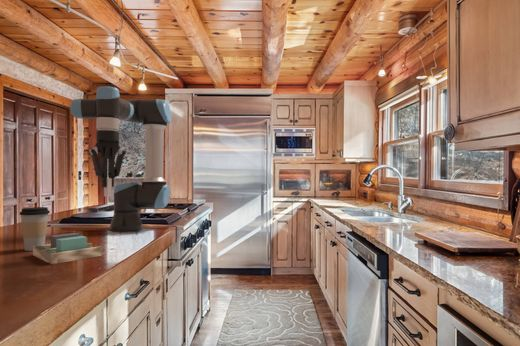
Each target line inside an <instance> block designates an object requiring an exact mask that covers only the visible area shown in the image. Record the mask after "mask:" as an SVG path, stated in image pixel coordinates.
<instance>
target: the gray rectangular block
mask: <svg viewBox="0 0 520 346" xmlns="http://www.w3.org/2000/svg"><path fill="white" fill-rule="evenodd" d="M76 236H81V233H77V232H71V233H61V234H54V235H50V244H51V248H56V239H61V238H68V237H76Z"/></svg>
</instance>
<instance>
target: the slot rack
mask: <svg viewBox="0 0 520 346" xmlns="http://www.w3.org/2000/svg"><path fill="white" fill-rule="evenodd" d="M103 249H104V248H103V246H102V245H99V246H94V247H93V243H92V242H87V248H85V249H78V250H72V251H65V252H59V253H56V248H51V243H50V244H49V243H48V244H45V245H40V246H33V251H32V256H34V257H36V258H38V259H39V260H42V261H44V262H46V263H48V264H50V265H56V264H57V265H58V264H61V263H66V262H67V263H68V262H74V261H79V260H84V259H91V258H96V257H97V258H98V257H102V256H103V253H104V252H103Z"/></svg>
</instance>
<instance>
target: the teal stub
mask: <svg viewBox="0 0 520 346" xmlns="http://www.w3.org/2000/svg"><path fill="white" fill-rule="evenodd" d="M87 243H88V237H87V236H85V235H80V236H76V237H68V238H61V239H56V253H59V252H65V251H72V250H78V249H85V248H87Z"/></svg>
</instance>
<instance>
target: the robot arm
mask: <svg viewBox="0 0 520 346" xmlns="http://www.w3.org/2000/svg"><path fill="white" fill-rule="evenodd" d="M95 96H96V97H95V98H74V99H73V100H71V102H70V113H71V115H72V116H73V118H76V119H81V120H83V119H84V120H85V119H92V120H93V119H95V120H96V127H95V128H96V134H95V135H96V137H95V140H96V142H95V145H94V147H93V148H91V149H88V153H89V155H90V156H91V160H92V164H93V169H94V171H95V176H96V177H99V178H100V179H101V187H102V188H103V197H109V198H110V197H113V217H112V219H111V222H110V224H109V231H111V232H133V231H134V232H135V231H140V230H143V222H142V218H141V216H140V209H155V210H156V209H164V208H165V207H166V206H167V205H168V204H169V202H170V196H171V187H170V185H168V184H167V180H166V179H165V178H164V161H165V159H164V157H165V156H164V154H165V153H164V151H165V149H164V148H165V146H164V145H165V144H164V143H165V141H164V140H165V130H166V129H167V128H168V124H170V123H171V122H172V111H171V107H170V105H169V103H168V101H166V99H159V98H156V99H155V98H154V99H153V98H152V99H149V98H148V99H129V100H126V99H124V98H121V97H120V96H121V94H120V90H119V89H118V88H117V87H115V86H114V87H113V86H107V85H106V86H105V85H104V86H103V85H102V86H98V87H97V88H96V95H95ZM120 121H122V122H129V123H135V124H142V127H143V128H144V129H145V173H144V175H145V177H144V179H142V181H141V184H140V182H138V181H134V182H125V183H118V184H115V178H116V177H119V176H120V173H121V169H122V164H123V161H124V157H125V155H126V154H127V151H126V150H123V149H122V148H121V145H120V132H119V130H120ZM98 154H99V155H100V159H99V155H98ZM116 154H117V156H116ZM115 159H116V160H115ZM112 188H114V189H113V191H112ZM112 192H113V196H112Z"/></svg>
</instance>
